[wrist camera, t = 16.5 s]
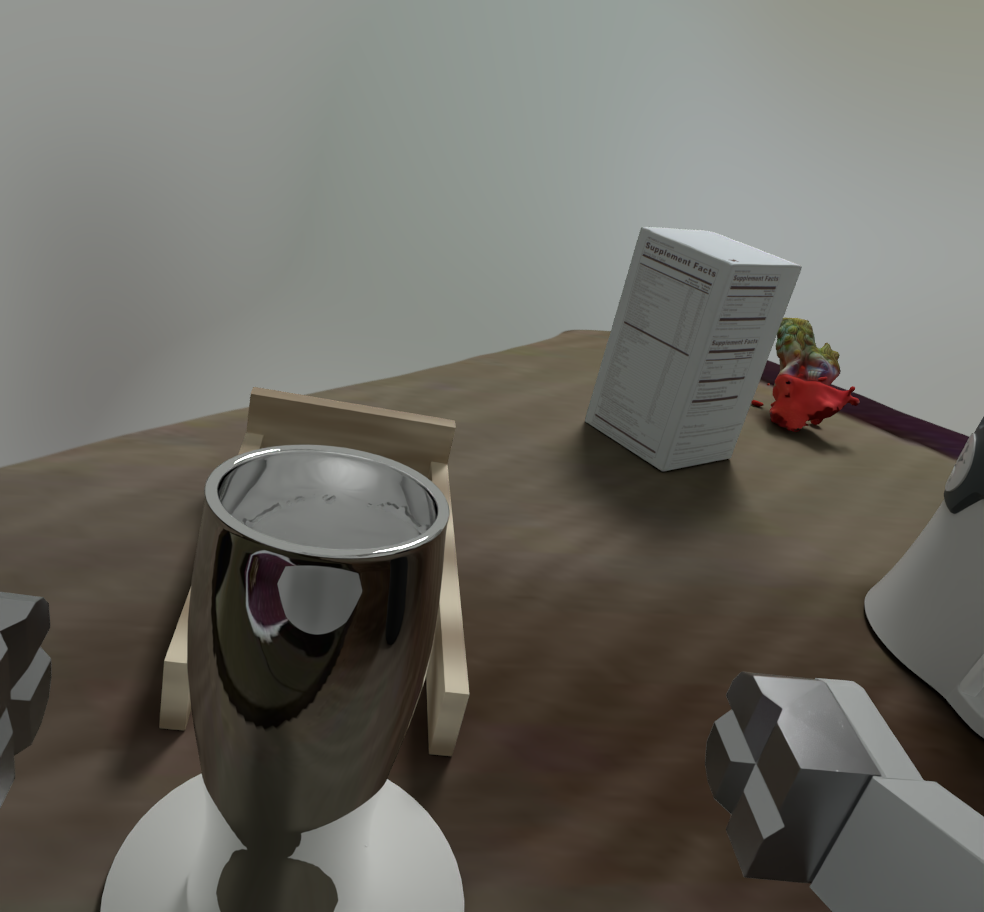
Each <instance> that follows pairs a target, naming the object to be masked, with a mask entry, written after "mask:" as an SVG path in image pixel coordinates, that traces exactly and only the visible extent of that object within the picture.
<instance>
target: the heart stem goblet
mask: <svg viewBox="0 0 984 912" xmlns="http://www.w3.org/2000/svg"><path fill="white" fill-rule="evenodd" d="M204 496H205V498H204V506H203V513H202V520H201V525H200V531H199V537H198V542H197V548H196V555H195V562H194V568H193V575H192V582H191V592H190V603H189V613H188V631H187V671H188V682H189V693H190V704H191V711H192V718H193V724H194V731H195V737H196V744H197V749H198V755H199V761H200V767H201V773H202V779H203V787H204V794H205V824H204V831H203V835H202V839H201V842H200V845H199V848H198V851H197V854H196V856H195V859H194V862H193V865H192V868H191V871H190V874H189V878H188V883H187V888H186V909H187V912H368V910H369V907H370V903H371V897H372V867H371V855H370V833H371V826H372V821H373V817H374V813H375V809H376V806H377V804H378V801H379V798H380V796H381V793H382V791H383V788H384V785H385V783H386V781H387V778H388V776H389V773H390V771H391V769H392V766H393V764H394V762H395V759H396V757H397V755H398V752H399V750H400V747H401V745H402V742H403V740H404V737H405V735H406V733H407V730H408V728H409V725H410V723H411V720H412V717H413V714H414V711H415V708H416V705H417V702H418V699H419V696H420V694H421V691H422V688H423V685H424V681H425V677H426V673H427V668H428V664H429V660H430V655H431V651H432V647H433V642H434V636H435V629H436V623H437V616H438V610H439V603H440V593H441V584H442V574H443V562H444V550H445V539H446V530H447V523H448V520H449V515H450V510H449V505H448V502H447V500H446V498H445V496H444V494H443V493H442V492H441V490H440V489H439V488H438V487H437V486H436V485H435V484H434V483H433V482H432V481H430V480H429V479H428V478H426V477H425V476H424V475H422V474H420V473H419V472H417V471H415V470H414V469H412V468H410V467H408V466H406V465H403V464H401V463H399V462H396V461H394V460H391V459H388V458H385V457H382V456H379V455H376V454H372V453H368V452H364V451H359V450H354V449H349V448H342V447H335V446H324V445H284V446H274V447H268V448H262V449H257V450H253V451H249V452H246V453H243V454H240V455H237V456H235V457H233V458H231V459H229V460H227V461H225V462H224V463H222V464H221V465H219V466H218V467H217V468H216V469H215V470H214V471H213V472H212V473H211V474H210V476H209V477H208V479H207V481H206V484H205V488H204Z"/></svg>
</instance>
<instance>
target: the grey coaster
mask: <svg viewBox="0 0 984 912" xmlns="http://www.w3.org/2000/svg"><path fill="white" fill-rule="evenodd" d="M204 824H205V794H204V787H203V779H202V774H200V775H198V776H196V777H194V778H192V779H190V780H188V781H187V782H185V783H184V784H182V785H180V786H179V787H177V788H176V789H174V790H173V791H171V792H170V793H169V794H168V795H166V796H165V797H164V798H163V799H161V800H160V801H159V802H158V803H156V804H155V805H154V806H153V807H152V808H151V809H150V810H149V811H148V812H147V813H146V814H145V815H144V816H143V817H142V818H141V819H140V821H139V822H138V823H137V825H136V826H135V827H134V828H133V830H132V831H131V832H130V834H129V835H128V836H127V838H126V839H125V841H124V843H123V845H122V846H121V848H120V850H119V851H118V853H117V855H116V857H115V859H114V862H113V864H112V866H111V869H110V871H109V874H108V876H107V880H106V884H105V888H104V891H103V895H102V901H101V911H100V912H187V909H186V888H187V883H188V878H189V874H190V871H191V868H192V865H193V862H194V859H195V856H196V854H197V851H198V848H199V845H200V842H201V839H202V835H203V831H204ZM370 855H371V867H372V897H371V903H370V907H369V910H368V912H464V895H463V888H462V880H461V877H460V873H459V869H458V866H457V862H456V860H455V857H454V855H453V853H452V850H451V848H450V846H449V843H448V842H447V840H446V838H445V837H444V835H443V833H442V832H441V830H440V828H439V827H438V825H437V824H436V823H435V821H434V820H433V819H432V818H431V816H430V815H429V814H428V812H427V811H426V810H425V809H424V808H423V807H422V806H421V805H420V804H419V803H418V802H417V801H416V800H415V799H414V798H412V797H411V796H410V795H409V794H407V793H406V792H405V791H404V790H402V789H401V788H400V787H399V786H397V785H395V784H394V783H392V782H391V781H389V780H387V781H386V783H385V785H384V788H383V791H382V793H381V796H380V798H379V801H378V804H377V806H376V809H375V813H374V817H373V821H372V826H371V833H370Z"/></svg>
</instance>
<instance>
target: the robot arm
mask: <svg viewBox="0 0 984 912" xmlns="http://www.w3.org/2000/svg"><path fill="white" fill-rule="evenodd" d="M865 611H866V615H867V618H868V620H869V622H870V624H871V626H872V628H873V630H874V631H875V633H876V634H877V635H878V637H879V638H880V639H881V641H882V642H883V643H884V644H885V645H886V647H887V648H888V649H889V650H890V651H891V652H892V653H893V654H894V655H895V656H896V657H897V658H898V659H899V660H900V661H901V662H902V663H903V664H905V665H906V666H907V667H908V668H909V669H910V670H912V671H913V672H914V673H915V674H917V675H918V676H919V677H920V678H922V679H923V680H924V681H925V682H927V683H928V684H929V685H931V686H932V687H933V688H934V689H935V690H937V691H938V692H939V693H940V694H941V695H942V696H943V697H944V698H946V700H947V701H948V702H949V703H950V705H951V706H952V707H953V708H954V710H955V711H956V712H957V713H958V714H959V716H960V717H961V718H962V719H963V720H964V721H965V722H966V723H967V724H968V725H969V726H970V727H971V728H972V729H973V730H974V731H975V732H976V733H977V734H979V735H980V736H981V737H983V738H984V417H983V419H982V420H981V422H980V424H979V425H978V427H977V429H976V431H975V432H974V433H972V434H971V436H970V437H969V439H968V441H967V443H966V445H965V447H964V449H963V450H962V452H961V454H960V456H959V458H958V460H957V462H956V464H955V466H954V468H953V470H952V472H951V474H950V476H949V478H948V480H947V483H946V486H945V491H944V501H943V502H942V504H941V505H940V507H939V508H938V510H937V511H936V513H935V514H934V516H933V517H932V519H931V520H930V521H929V523H928V524H927V526H926V527H925V528H924V530H923V531H922V532H921V534H920V535H919V537H918V538H917V539H916V541H915V542H914V543H913V544H912V546H911V547H910V548H909V549H908V551H907V552H906V553H905V554H904V556H903V557H902V558H901V559H900V560H899V561H898V562H897V564H896V565H895V566H894V567H893V568H892V569H891V570H890V571H889V572H888V573H887V574H886V575H885V576H884V577H883V578H882V579H881V580H880V581H879V582H878V583H877V584H876V585H875V586H874V587H872V588H871V589H870V590H869V592H868V593H867V595H866V598H865ZM49 629H50V615H49V603H48V602H47V601H46V600H45V599H44V598H43V597H36V596H28V595H20V594H13V593H5V592H0V807H1V805H2V803H3V801H4V799H5V797H6V795H7V793H8V791H9V789H10V787H11V785H12V783H13V781H14V779H15V766H14V756H15V755H16V754H18V753H19V752H21V751H22V750H24V749H26V748H27V747H29V746H30V745H31V744H32V742H33V740H34V738H35V736H36V734H37V732H38V729H39V727H40V725H41V723H42V719H43V716H44V712H45V709H46V705H47V702H48V698H49V692H50V684H51V658H50V657H49V656H48V655H47V654H46V653H45V651H44V650H43V649H42V648H41V647H40V646H41V644H42V642H43V640H44V638H45V636H46V635H47V633H48V631H49ZM726 696H727V699H728V701H729V704H730V706H731V709H732V710H730V711H729V712H728V713H726V714H725V715H723V716H722V717H721V718H719V719H718V720H716V721H715V722H714V724H713V727H712V730H711V732H710V735H709V737H708V740H707V745H706V759H705V766H706V773H707V779H708V783H709V786H710V788H711V791H712V794H713V797H714V799H715V800H717V801H718V802H719V803H720V804H721V805H722V806H723V807H724V808H725V809H726V810H727V811H728V812H729V813H731V814H732V815H731V818H730V820H729V822H728V825H727V827H726V831H727V834H728V836H729V839H730V841H731V844H732V846H733V849H734V852H735V854H736V857H737V859H738V862H739V864H740V867H741V870H742V872H743V875H744V877H745V878H756V879H767V880H778V881H789V882H800V883H811V886H810V888H811V889H812V890H813V891H814V892H815V893H816V894H817V895H818V896H819V898H820V899H821V900H822V901H823V902H824V903H825V904H826V905H827V906H828V907H829V909H830V910H831V911H832V912H984V817H983V816H982V815H980V814H979V813H978V812H976V811H975V810H973V809H972V808H971V807H969V806H968V805H967V804H965V803H964V802H962V801H961V800H960V799H958V798H957V797H956V796H954V795H953V794H951V793H950V792H949V791H947V790H946V789H944V788H943V787H942V786H940V785H939V784H938V783H936V782H932V781H924V780H923V778H922V777H921V775H920V774H919V772H918V771H917V769H916V768H915V766H914V765H913V763H912V762H911V760H910V759H909V757H908V756H907V754H906V753H905V751H904V750H903V748H902V747H901V745H900V744H899V742H898V740H897V739H896V737H895V736H894V734H893V733H892V731H891V730H890V728H889V727H888V725H887V724H886V722H885V721H884V719H883V718H882V716H881V715H880V713H879V712H878V710H877V709H876V707H875V706H874V704H873V702H872V701H871V699H870V698H869V696H868V695H867V693H866V692H865V690H864V689H863V688H862V687H861V686H859V685H858V684H856V683H855V682H853V681H844V680H832V679H820V678H816V679H809V678H799V677H789V676H779V675H769V674H759V673H749V672H741V673H740V674H739V675H738V676H737V677H736V678H735V679H734V680H733V681H732V684H731V686H730V688H729V690H728V692H727V695H726Z"/></svg>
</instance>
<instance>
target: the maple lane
mask: <svg viewBox="0 0 984 912" xmlns="http://www.w3.org/2000/svg"><path fill="white" fill-rule="evenodd" d="M455 428H456V427H455V421H454V420H448V419H442V418H436V417H430V416H424V415H418V414H412V413H406V412H401V411H395V410H389V409H383V408H377V407H371V406H365V405H359V404H353V403H347V402H341V401H335V400H329V399H323V398H317V397H311V396H305V395H299V394H293V393H286V392H281V391H275V390H269V389H263V388H257V387H253V389H252V392H251V397H250V405H249V414H248V423H247V432H246V435H245V438H244V441H243V443H242V446H241V449H240V452H239V454H238V455H240V454H243V453H246V452H249V451H253V450H257V449H262V448H268V447H274V446H284V445H324V446H335V447H342V448H349V449H354V450H359V451H364V452H368V453H372V454H376V455H379V456H382V457H385V458H388V459H391V460H394V461H396V462H399V463H401V464H403V465H406V466H408V467H410V468H412V469H414V470H415V471H417V472H419V473H420V474H422V475H424V476H425V477H426V478H428V479H429V480H430V481H432V482H433V483H434V484H435V485H436V486H437V487H438V488H439V489H440V490H441V492H442V493H443V494H444V496H445V498H446V500H447V502H448V505H449V510H450V515H449V520H448V523H447V530H446V539H445V550H444V562H443V574H442V584H441V593H440V603H439V610H438V616H437V623H436V629H435V636H434V642H433V647H432V651H431V655H430V660H429V664H428V668H427V673H426V685H427V714H428V743H429V754H433V755H443V756H452V755H453V751H454V747H455V744H456V740H457V737H458V733H459V729H460V726H461V722H462V719H463V715H464V712H465V708H466V704H467V701H468V697H469V686H468V676H467V665H466V655H465V644H464V634H463V623H462V613H461V602H460V592H459V581H458V571H457V561H456V550H455V540H454V529H453V519H452V508H451V498H450V487H449V477H448V466H447V463H448V459H449V454H450V450H451V446H452V441H453V437H454V433H455ZM190 592H191V588H190V591H189V593H188V596H187V599H186V602H185V605H184V607H183V610H182V613H181V616H180V618H179V621H178V624H177V627H176V630H175V632H174V635H173V638H172V641H171V643H170V646H169V649H168V652H167V655H166V657H165V660H164V670H163V684H162V697H161V710H160V723H159V728H163V729H173V730H184V731H185V729H186V725H187V722H188V718H189V715H190V712H191V704H190V693H189V682H188V671H187V631H188V613H189V603H190Z"/></svg>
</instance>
